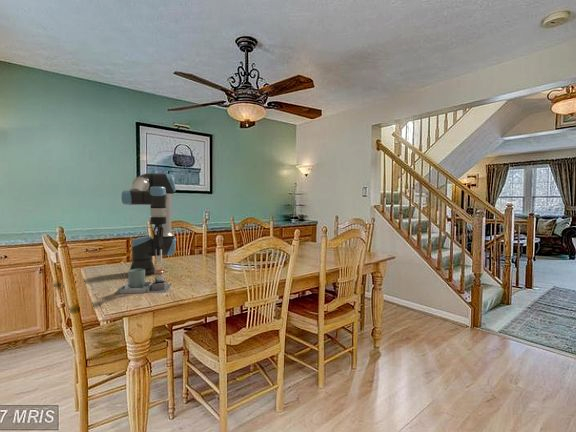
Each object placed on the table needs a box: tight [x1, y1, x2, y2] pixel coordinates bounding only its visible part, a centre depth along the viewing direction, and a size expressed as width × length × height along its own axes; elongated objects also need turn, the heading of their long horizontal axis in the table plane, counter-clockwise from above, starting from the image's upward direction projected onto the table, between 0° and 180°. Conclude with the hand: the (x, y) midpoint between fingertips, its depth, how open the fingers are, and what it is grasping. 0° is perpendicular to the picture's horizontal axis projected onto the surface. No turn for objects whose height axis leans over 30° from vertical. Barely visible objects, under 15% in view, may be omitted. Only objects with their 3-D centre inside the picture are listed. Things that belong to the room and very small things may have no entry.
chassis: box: [117, 280, 173, 295], centre depth 166 cm, size 16×23×5 cm
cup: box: [127, 269, 146, 289], centre depth 164 cm, size 8×8×10 cm
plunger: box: [153, 269, 165, 283], centre depth 166 cm, size 5×5×6 cm
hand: (158, 261), depth 166 cm, fingers closed
